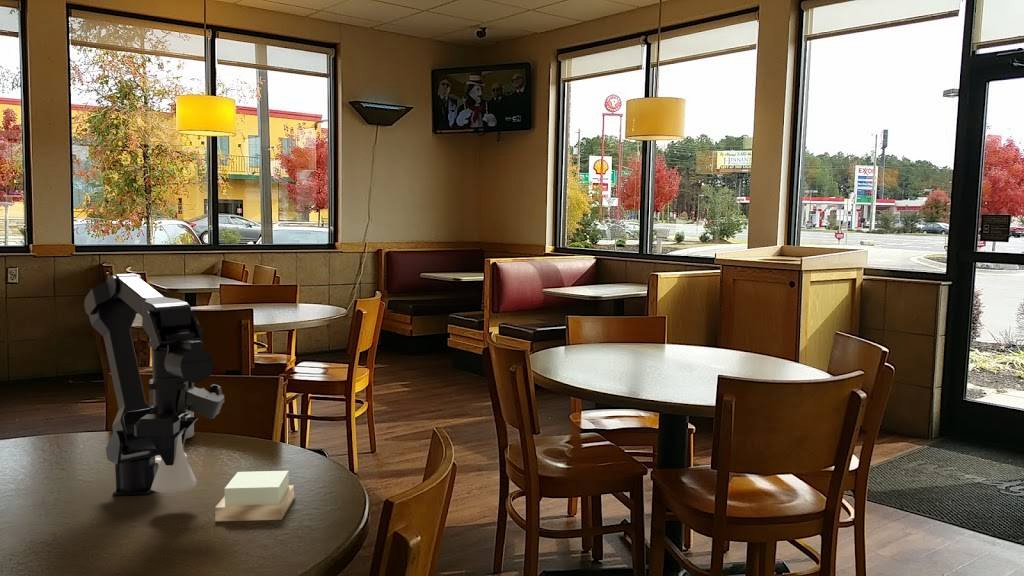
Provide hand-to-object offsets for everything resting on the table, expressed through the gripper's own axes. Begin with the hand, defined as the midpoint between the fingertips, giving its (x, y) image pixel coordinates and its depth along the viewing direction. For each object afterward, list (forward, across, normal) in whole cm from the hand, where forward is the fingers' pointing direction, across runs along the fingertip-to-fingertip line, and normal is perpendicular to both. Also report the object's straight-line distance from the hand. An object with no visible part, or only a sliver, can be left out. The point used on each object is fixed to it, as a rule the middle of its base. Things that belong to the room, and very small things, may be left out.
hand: (173, 463), depth 142 cm
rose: (+9, +31, +13) cm, 35 cm away
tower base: (+9, 0, -14) cm, 17 cm away
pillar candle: (+9, +51, +17) cm, 54 cm away
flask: (+4, 0, 0) cm, 4 cm away
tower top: (+6, 0, -14) cm, 16 cm away
